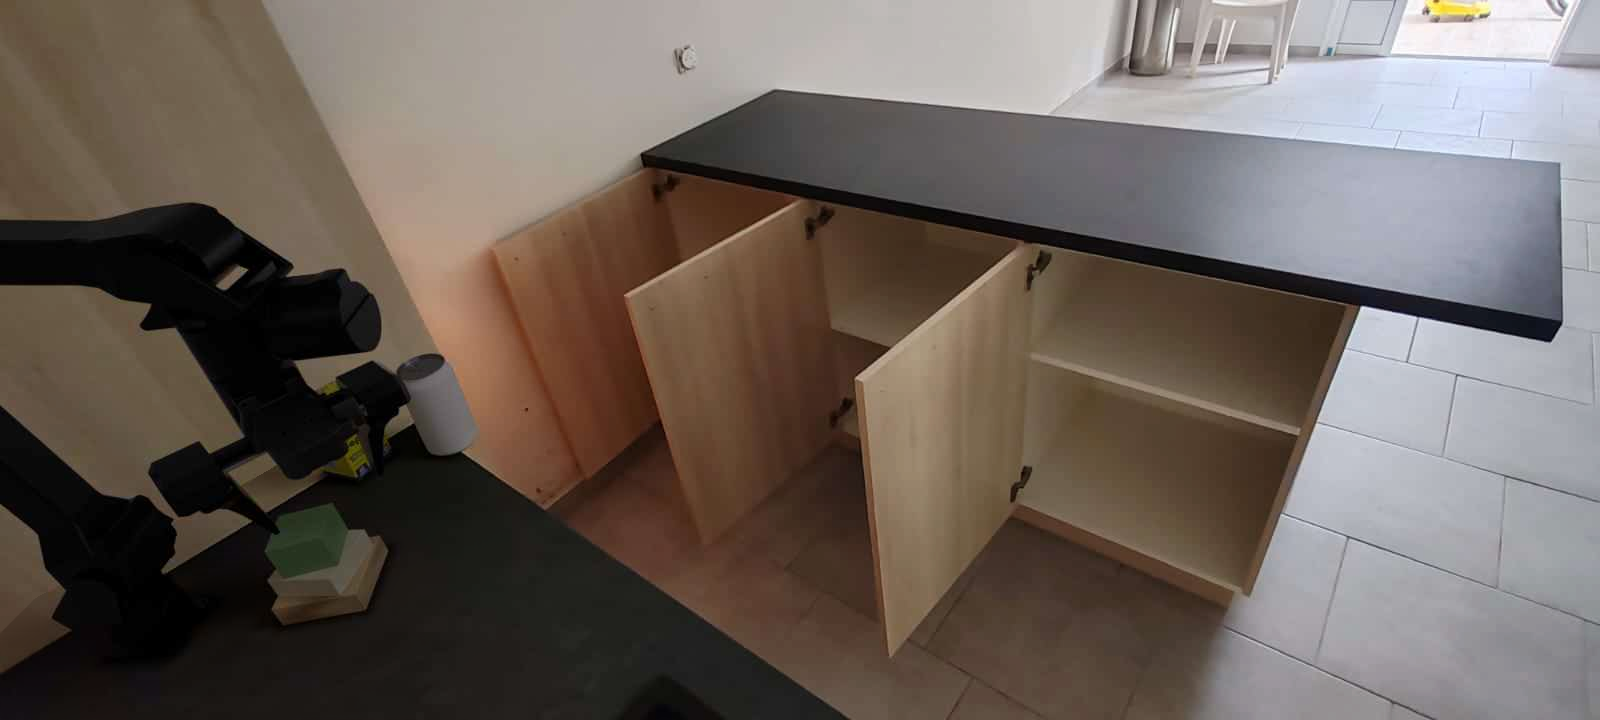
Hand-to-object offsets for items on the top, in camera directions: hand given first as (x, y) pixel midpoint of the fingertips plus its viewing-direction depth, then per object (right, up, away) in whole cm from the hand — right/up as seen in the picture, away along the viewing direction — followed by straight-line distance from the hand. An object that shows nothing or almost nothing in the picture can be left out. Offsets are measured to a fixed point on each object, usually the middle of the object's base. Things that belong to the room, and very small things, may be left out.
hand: (330, 502), depth 68 cm
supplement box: (-13, 0, +26) cm, 29 cm away
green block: (-6, -7, +7) cm, 11 cm away
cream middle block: (-5, -9, +8) cm, 13 cm away
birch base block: (-5, -11, +9) cm, 15 cm away
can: (-2, +2, +29) cm, 29 cm away
